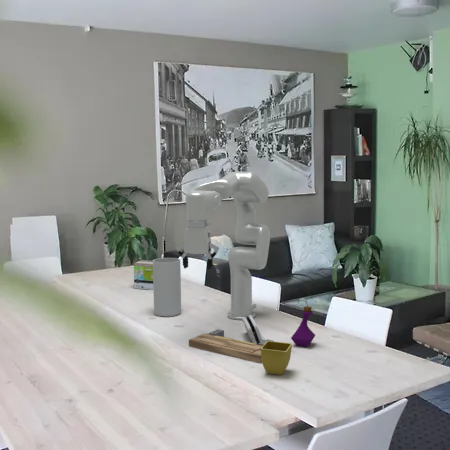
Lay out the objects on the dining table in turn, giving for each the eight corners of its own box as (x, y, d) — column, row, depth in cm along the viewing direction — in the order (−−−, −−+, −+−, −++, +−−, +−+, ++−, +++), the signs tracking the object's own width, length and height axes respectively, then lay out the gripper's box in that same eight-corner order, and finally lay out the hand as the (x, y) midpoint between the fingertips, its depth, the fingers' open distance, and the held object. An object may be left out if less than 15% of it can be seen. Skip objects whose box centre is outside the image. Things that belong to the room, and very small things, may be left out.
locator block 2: (267, 347, 216) (267, 339, 215) (273, 348, 214) (273, 340, 214) (258, 351, 211) (258, 343, 210) (265, 352, 209) (265, 344, 209)
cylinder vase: (149, 315, 261) (147, 261, 258) (162, 309, 272) (161, 257, 270) (173, 318, 256) (172, 263, 253) (185, 311, 268) (184, 258, 265)
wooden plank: (204, 339, 225) (204, 332, 225) (274, 355, 207) (274, 347, 206) (188, 346, 217) (188, 339, 217) (260, 363, 199) (260, 355, 198)
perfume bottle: (315, 343, 220) (316, 297, 218) (309, 349, 213) (310, 301, 211) (296, 340, 223) (297, 295, 221) (290, 346, 216) (290, 299, 214)
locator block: (218, 336, 229) (217, 329, 229) (224, 337, 227) (224, 330, 227) (208, 340, 224) (208, 332, 224) (215, 341, 222) (214, 334, 222)
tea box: (133, 289, 316) (133, 262, 314) (141, 285, 325) (140, 259, 323) (158, 290, 311) (158, 263, 310) (166, 286, 321) (165, 260, 319)
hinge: (267, 344, 218) (258, 321, 217) (255, 349, 218) (246, 325, 216) (259, 331, 235) (251, 309, 233) (248, 336, 234) (240, 314, 233)
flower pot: (292, 369, 193) (292, 343, 192) (286, 378, 185) (286, 351, 184) (267, 366, 196) (267, 340, 195) (260, 375, 188) (260, 348, 187)
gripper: (221, 223, 221) (221, 267, 223) (179, 222, 226) (180, 265, 228) (215, 226, 214) (216, 271, 216) (172, 225, 219) (173, 269, 221)
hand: (197, 268), depth 222 cm, fingers open, 9 cm apart
